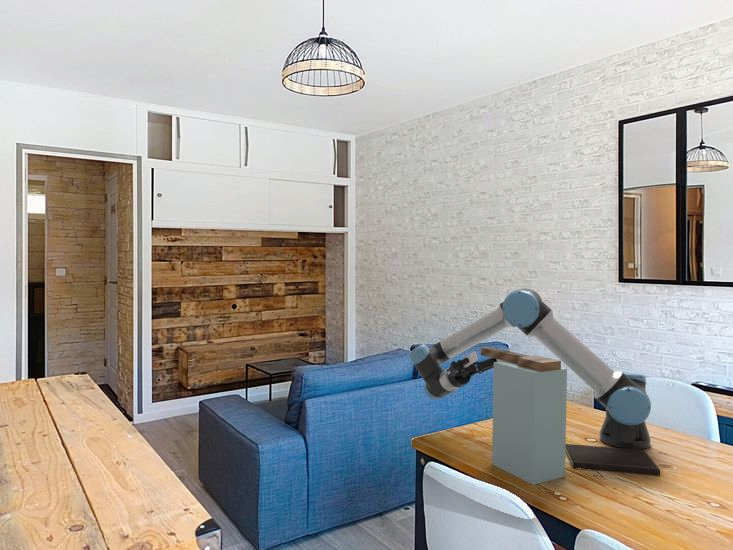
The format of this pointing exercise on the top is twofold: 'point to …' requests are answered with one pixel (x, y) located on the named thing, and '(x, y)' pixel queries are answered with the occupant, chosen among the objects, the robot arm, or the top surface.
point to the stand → (529, 422)
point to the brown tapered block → (523, 359)
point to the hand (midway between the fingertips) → (493, 353)
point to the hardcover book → (611, 459)
